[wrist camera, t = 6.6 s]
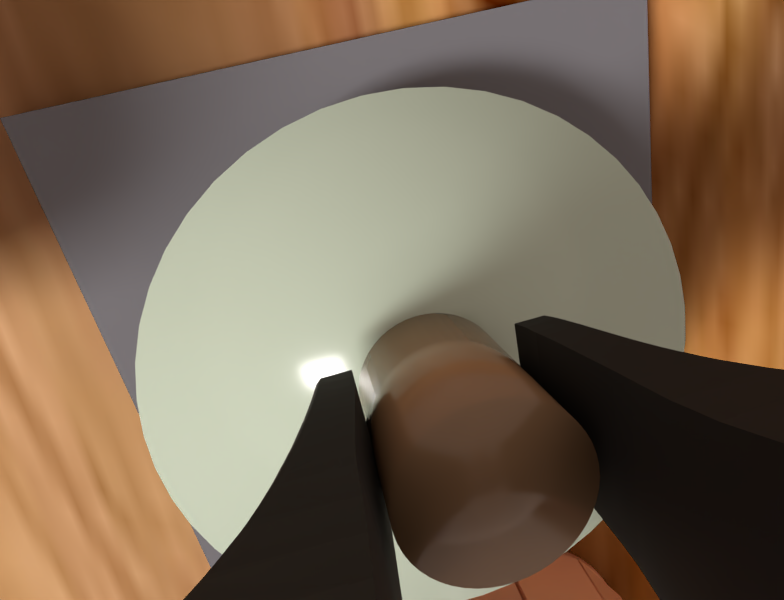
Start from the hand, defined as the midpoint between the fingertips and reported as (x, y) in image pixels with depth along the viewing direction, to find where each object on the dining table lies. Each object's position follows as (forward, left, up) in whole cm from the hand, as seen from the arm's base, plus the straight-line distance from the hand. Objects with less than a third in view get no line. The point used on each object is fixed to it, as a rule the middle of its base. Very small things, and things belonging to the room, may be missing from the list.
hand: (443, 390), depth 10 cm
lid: (0, -1, -3) cm, 3 cm away
